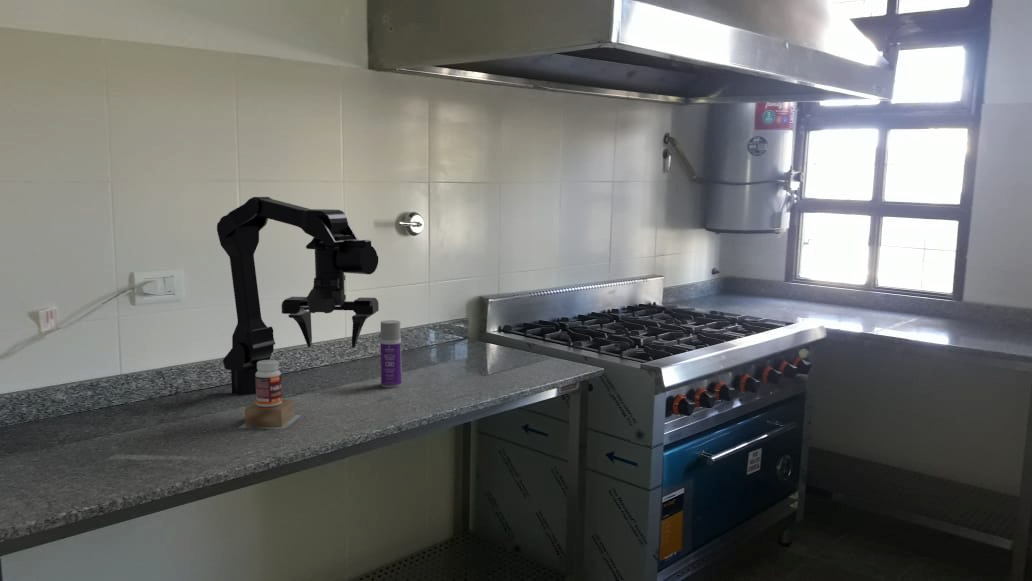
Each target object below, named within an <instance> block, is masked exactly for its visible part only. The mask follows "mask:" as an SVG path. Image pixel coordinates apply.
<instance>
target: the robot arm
mask: <svg viewBox="0 0 1032 581" xmlns="http://www.w3.org/2000/svg"><path fill="white" fill-rule="evenodd" d="M268 220H273V221H276V222H280V223H284V224H286V225H290V226H294V227H298V228H300V229H301V230H302V231H303V232H304V233H305V234H306V235H309V236H310V237H312V239H311V241H310V242H308V243H307V245H305V248H306V250H314V266H315V267H314V271H315V273H314V274H315V277H314V278H313V287H312V289H311V290H310V291H309V293H308V295H307V296H291V297H288V298H285V299H284V300H283V301H281V314H283V315H285V314H286V315H287V316H288V318H290V319H293V320H294V321H295V322H296V323H297V324H298V326H299V328H300V330H301V333H302V335H303V337H304V340H305V342H306V345H307V347H308V348H311V347H312V344H313V342H312V341H313V334H312V333H313V332H312V314H316V313H324V314H330V313H333V312H334V311H353V312H354V313H355V314H354V315H353V316H351V320H352V332H351V333H352V334H351V348H353V349H355V347H356V345H357V343H358V340H359V337H360V333H361V332H362V329H363V326H364V325H365V322H366V320H367V319H368V318H370V317H371V316H372V315H375V314H376V313H377V312H379V306H380V305H379V301H378V299H377V298H376V297H358V298H356V299H355V300H353V301H349V300H346V298H347V295H346V294H345V290H346V289H345V281H346V275H345V273H346V274H359V275H372V274H374V273H375V272H376V270H377V268H378V264H379V255H378V253H377V250H376V249H375V247H374V246H372V240H371V239H362V240H359V239H360V238H358V236H357V234H356V232H355V231H354V229H353V228H352V226H351V224H350V223H349V220H348V218H347V216H346V213H345V212H344V211H343V210H342V209H341V210H340V209H325V208H324V209H320V208H312V209H311V208H308V207H304V206H299V205H296V204H292V203H288V202H284V201H280V200H278V199H274V198H271V197H270V196H253V197H251V198H249V199H248V200H247V201H246V202H245V203H243V204H242V205H239V206H238V207H236V208H234V209H233V210H231V211H229V212H228V213H227V214H226V215H223V216H222V217H220V219H219V220H218V222H217V224H216V231H217V236H218V240H219V245H220V246H221V247H222V249H223V250H224V251H225V253H226V254H227V256H228V257H229V262H230V263H229V264H230V271H231V278H232V279H231V280H232V287H233V293H234V301H235V311H236V319H237V323H236V326H235V328H234V331H233V332H232V337H231V338H232V339H231V342H232V345H231V346H232V347H231V349H230V350H229V351H228V353H227V354H226V355H225V357H224V358H223V359H222V363H223V366H224V369H225V370H226V371H227V370H228V371H230V379H231V380H230V381H231V384H230V385H231V394H235V395H241V396H243V395H256V380H255V374H256V372H257V371H258V370H257V362H258V361H262V360H271V357H272V354H273V353H274V347H275V345H276V342H275V338H274V328H273V326H267V325H266V323H265V322H264V321H263V319H262V314H261V304H260V303H261V302H260V296H259V289H258V287H259V286H258V280H257V272H256V264H255V263H256V262H255V252H256V249H257V248H258V246H259V243H260V231H261V230H262V229H263V228H264V227H265V226H266V225H267V223H268Z"/></svg>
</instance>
